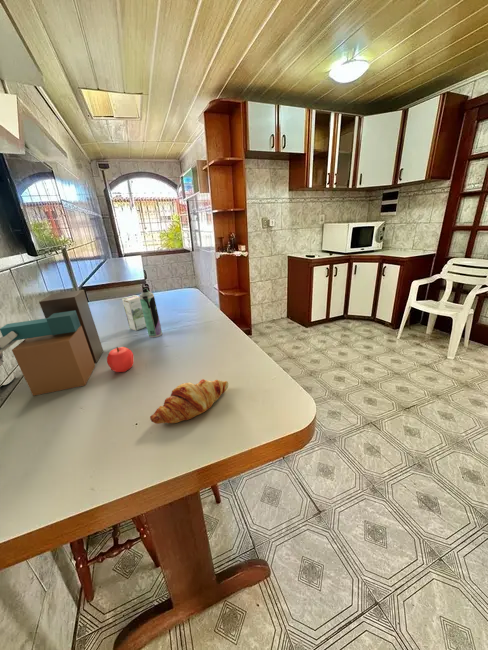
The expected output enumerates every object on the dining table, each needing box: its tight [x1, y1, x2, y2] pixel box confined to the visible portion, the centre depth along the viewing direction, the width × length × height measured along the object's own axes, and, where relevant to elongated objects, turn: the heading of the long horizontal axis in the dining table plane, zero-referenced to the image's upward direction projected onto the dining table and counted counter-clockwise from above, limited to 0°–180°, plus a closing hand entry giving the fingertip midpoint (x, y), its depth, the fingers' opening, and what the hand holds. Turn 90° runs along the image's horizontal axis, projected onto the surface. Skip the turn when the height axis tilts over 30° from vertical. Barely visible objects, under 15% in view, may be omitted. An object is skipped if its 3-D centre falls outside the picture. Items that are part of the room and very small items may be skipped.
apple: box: [106, 346, 135, 373], centre depth 86 cm, size 8×8×8 cm
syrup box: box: [121, 294, 147, 332], centre depth 118 cm, size 6×6×14 cm
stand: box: [38, 289, 104, 365], centre depth 92 cm, size 10×10×24 cm
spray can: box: [138, 287, 163, 339], centre depth 108 cm, size 6×6×20 cm
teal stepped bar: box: [0, 310, 81, 341], centre depth 77 cm, size 18×5×5 cm, turn 104°
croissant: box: [149, 378, 229, 424], centre depth 66 cm, size 21×10×8 cm, turn 130°
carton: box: [11, 326, 96, 397], centre depth 81 cm, size 14×12×15 cm
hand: (20, 329), depth 76 cm, fingers closed on teal stepped bar, 4 cm apart
